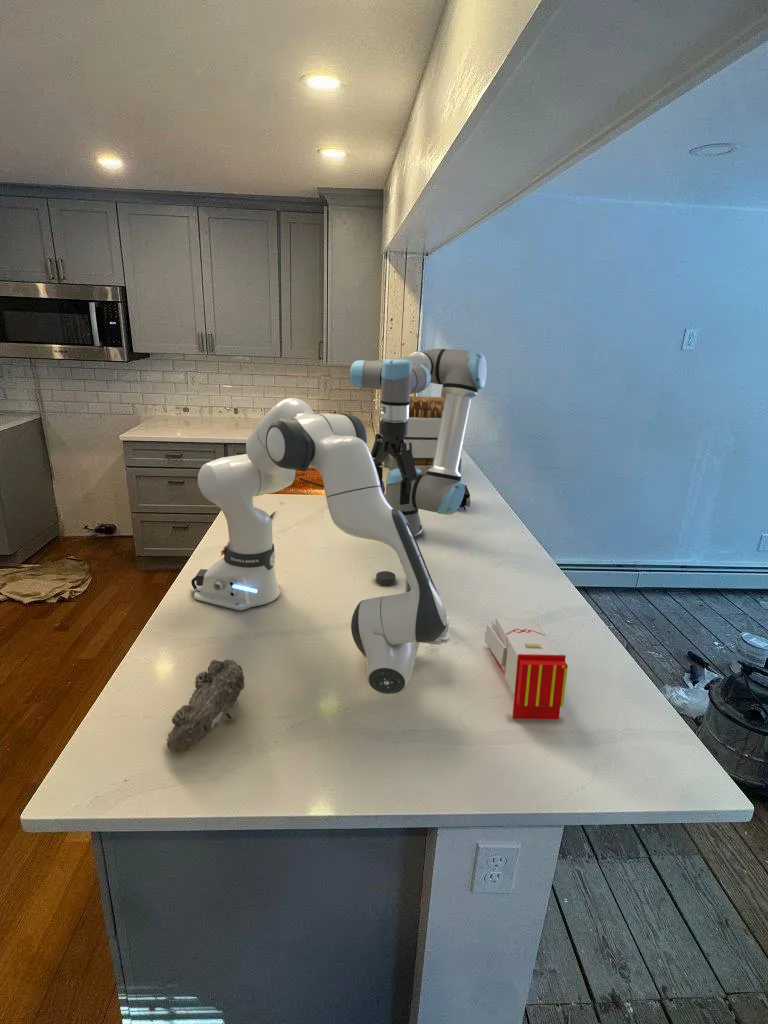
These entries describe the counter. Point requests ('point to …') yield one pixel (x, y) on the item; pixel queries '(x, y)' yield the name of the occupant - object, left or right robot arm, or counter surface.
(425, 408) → the white slatted box
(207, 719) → the fossil
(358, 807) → the counter surface
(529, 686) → the toy
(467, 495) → the figurine character
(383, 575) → the lid
